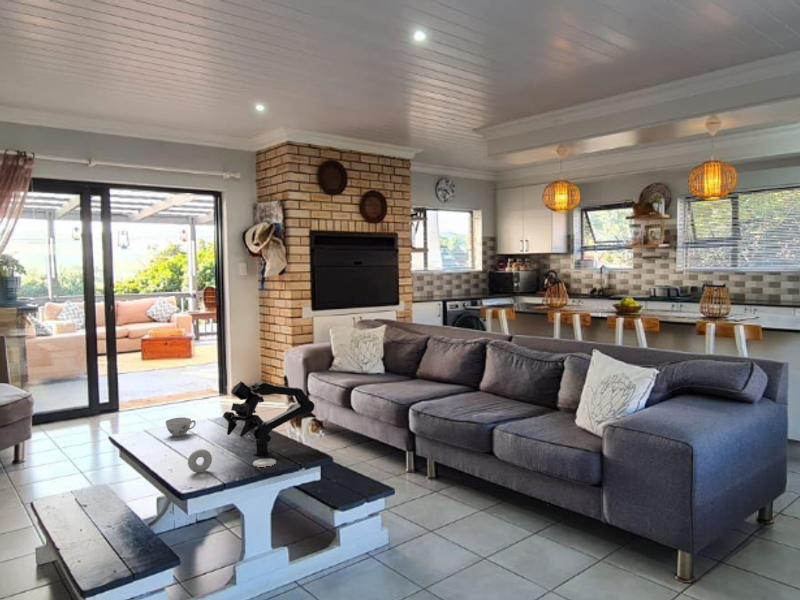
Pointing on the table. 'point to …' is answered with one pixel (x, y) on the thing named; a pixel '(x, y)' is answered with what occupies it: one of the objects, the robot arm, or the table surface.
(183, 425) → the teacup
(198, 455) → the donut
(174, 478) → the table surface
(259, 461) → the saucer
